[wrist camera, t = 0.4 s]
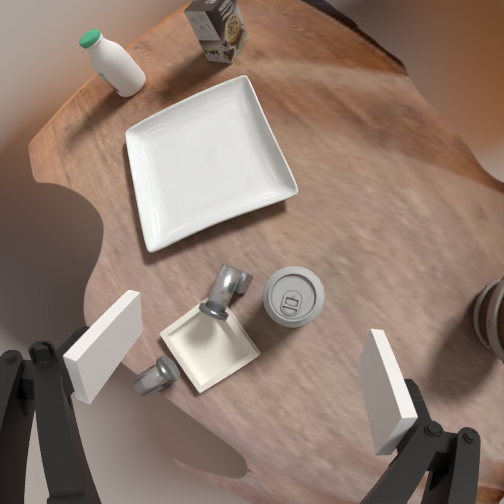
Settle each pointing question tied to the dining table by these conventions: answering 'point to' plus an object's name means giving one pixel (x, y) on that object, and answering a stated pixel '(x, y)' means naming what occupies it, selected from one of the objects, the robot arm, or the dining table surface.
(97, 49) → the milk bottle
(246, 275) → the shaft
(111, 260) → the dining table surface
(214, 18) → the coffee box
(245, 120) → the square plate
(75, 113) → the dining table surface
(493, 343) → the flowerpot
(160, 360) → the shaft
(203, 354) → the tray
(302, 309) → the soda can
